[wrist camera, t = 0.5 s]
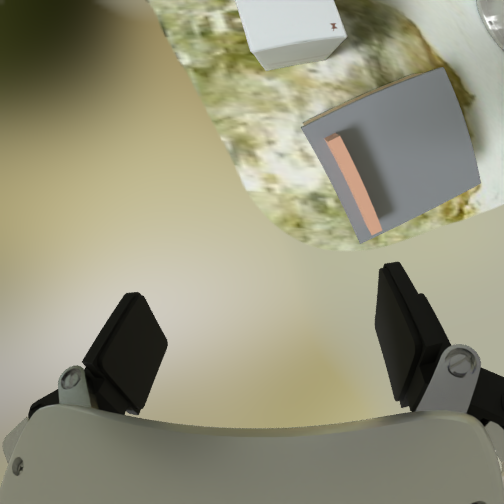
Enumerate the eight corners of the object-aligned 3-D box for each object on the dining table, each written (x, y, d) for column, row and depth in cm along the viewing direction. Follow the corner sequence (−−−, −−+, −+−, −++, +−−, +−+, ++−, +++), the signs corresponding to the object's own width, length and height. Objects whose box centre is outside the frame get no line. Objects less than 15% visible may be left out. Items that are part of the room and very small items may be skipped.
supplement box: (309, 8, 22) (322, -37, 11) (326, 61, 25) (350, 39, 14) (247, 19, 23) (226, -22, 12) (263, 72, 27) (251, 54, 16)
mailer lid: (439, 67, 18) (455, 66, 15) (476, 180, 23) (492, 190, 20) (300, 127, 24) (303, 130, 21) (358, 239, 29) (365, 255, 26)
